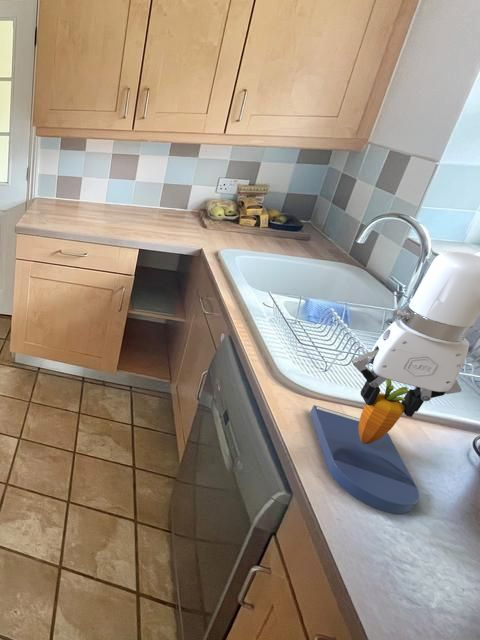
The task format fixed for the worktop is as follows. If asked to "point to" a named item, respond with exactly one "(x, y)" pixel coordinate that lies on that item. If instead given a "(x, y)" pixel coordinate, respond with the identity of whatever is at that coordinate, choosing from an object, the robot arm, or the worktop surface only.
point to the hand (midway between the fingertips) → (385, 405)
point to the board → (364, 463)
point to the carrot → (381, 414)
